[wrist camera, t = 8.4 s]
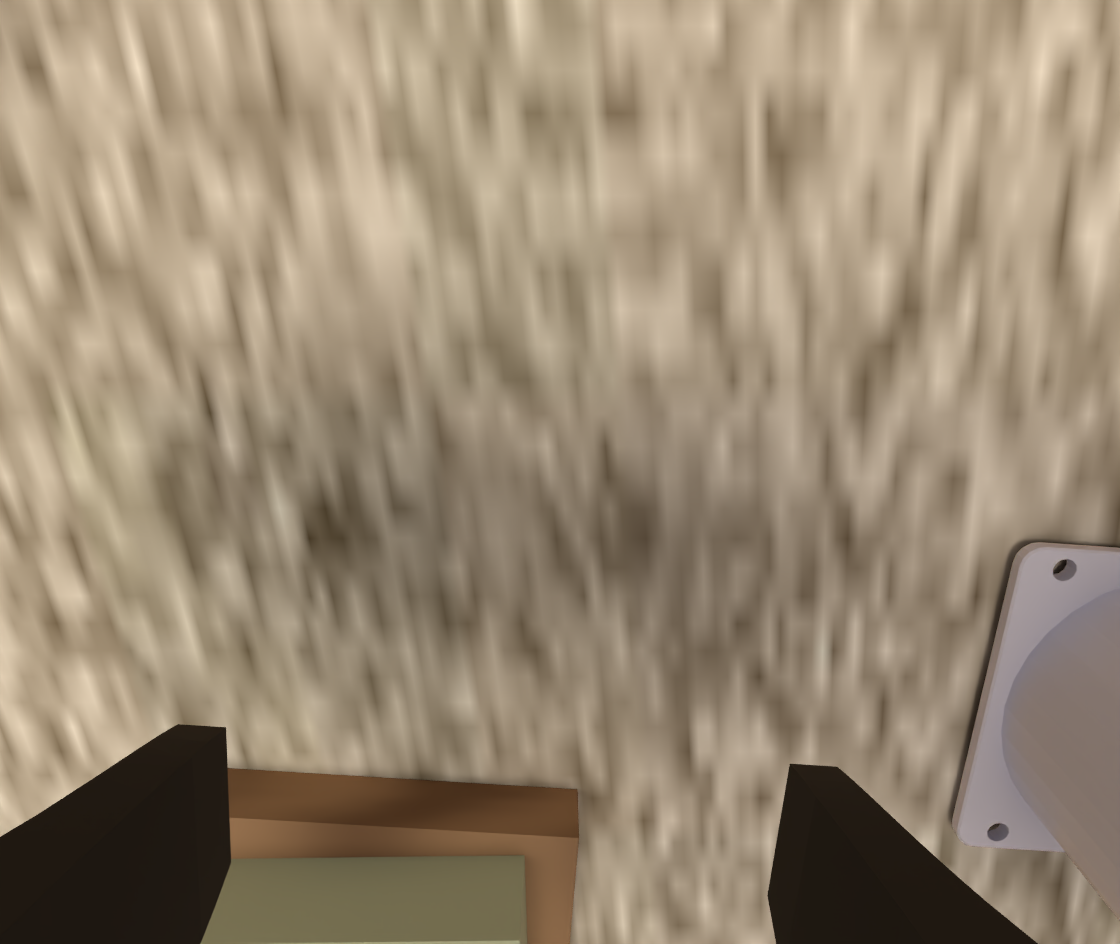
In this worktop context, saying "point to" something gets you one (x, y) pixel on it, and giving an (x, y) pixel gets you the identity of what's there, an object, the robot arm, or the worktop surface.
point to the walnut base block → (415, 828)
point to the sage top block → (372, 901)
